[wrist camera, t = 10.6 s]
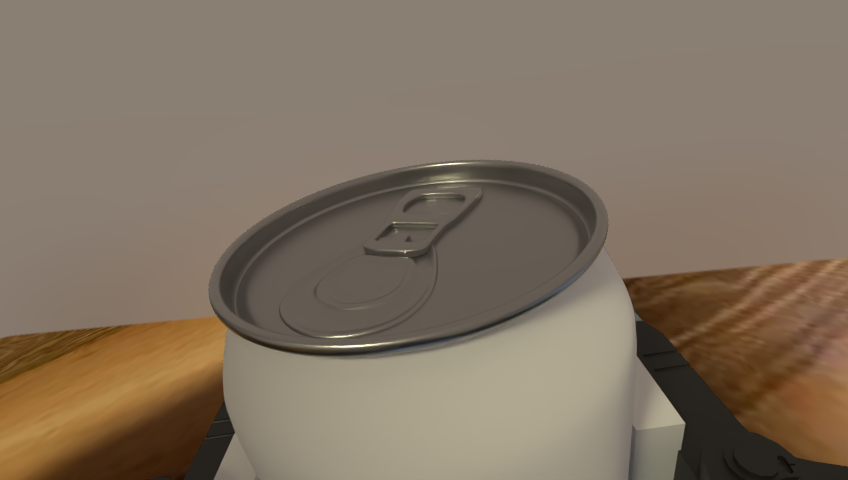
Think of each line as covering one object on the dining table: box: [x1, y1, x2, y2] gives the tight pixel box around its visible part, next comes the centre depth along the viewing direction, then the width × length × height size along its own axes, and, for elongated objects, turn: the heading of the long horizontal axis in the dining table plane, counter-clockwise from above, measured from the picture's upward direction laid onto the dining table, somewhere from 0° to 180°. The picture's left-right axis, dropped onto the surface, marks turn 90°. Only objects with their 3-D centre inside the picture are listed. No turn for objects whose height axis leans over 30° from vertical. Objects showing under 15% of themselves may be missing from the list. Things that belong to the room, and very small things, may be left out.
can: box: [209, 160, 637, 480], centre depth 9 cm, size 6×6×12 cm
